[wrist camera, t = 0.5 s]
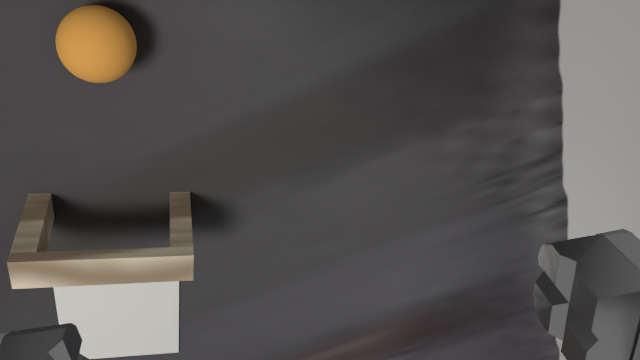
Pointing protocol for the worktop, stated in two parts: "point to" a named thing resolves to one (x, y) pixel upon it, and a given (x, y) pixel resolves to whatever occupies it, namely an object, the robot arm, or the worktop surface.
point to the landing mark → (122, 317)
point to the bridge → (97, 252)
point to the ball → (96, 43)
